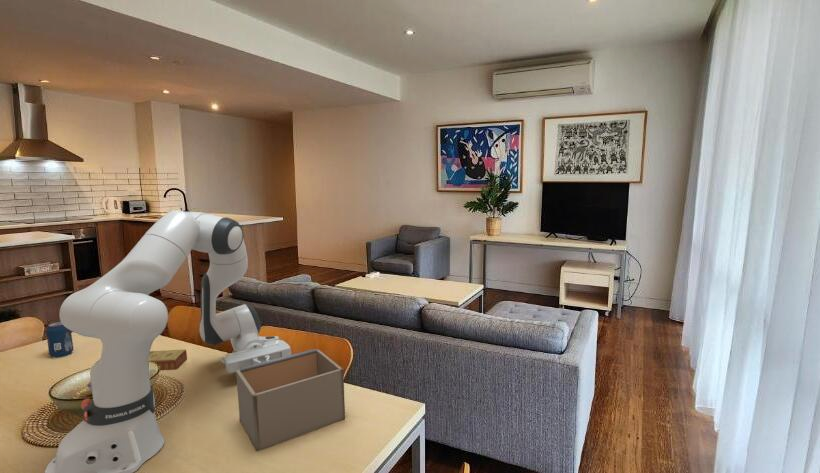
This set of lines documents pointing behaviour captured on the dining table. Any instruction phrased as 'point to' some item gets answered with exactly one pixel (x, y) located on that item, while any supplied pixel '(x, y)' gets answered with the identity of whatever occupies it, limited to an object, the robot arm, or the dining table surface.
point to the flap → (281, 371)
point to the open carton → (292, 405)
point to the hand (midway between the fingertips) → (265, 365)
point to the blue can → (59, 340)
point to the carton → (168, 358)
